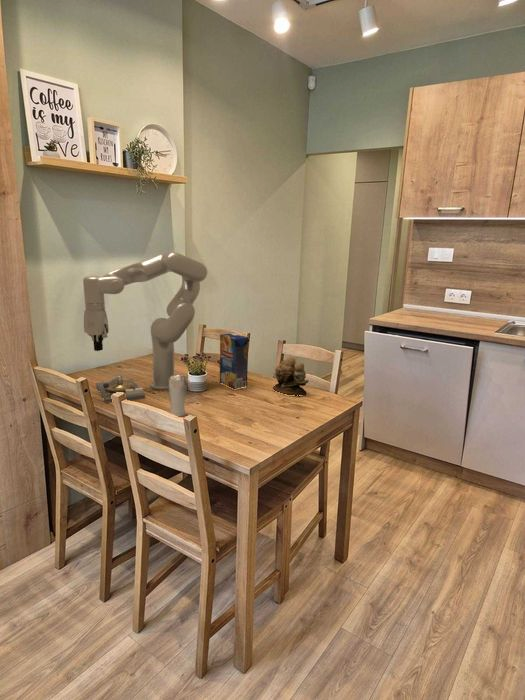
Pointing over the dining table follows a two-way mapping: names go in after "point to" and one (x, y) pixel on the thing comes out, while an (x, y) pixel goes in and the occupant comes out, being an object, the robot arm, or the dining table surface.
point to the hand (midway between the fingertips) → (98, 350)
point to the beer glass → (177, 394)
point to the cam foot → (118, 384)
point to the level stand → (130, 393)
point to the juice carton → (233, 360)
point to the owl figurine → (290, 377)
